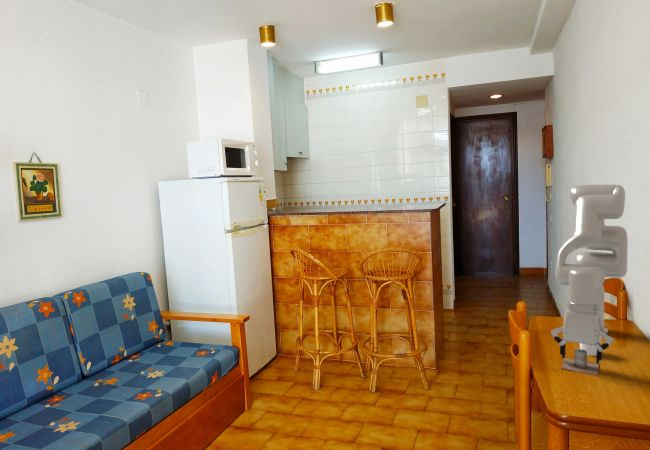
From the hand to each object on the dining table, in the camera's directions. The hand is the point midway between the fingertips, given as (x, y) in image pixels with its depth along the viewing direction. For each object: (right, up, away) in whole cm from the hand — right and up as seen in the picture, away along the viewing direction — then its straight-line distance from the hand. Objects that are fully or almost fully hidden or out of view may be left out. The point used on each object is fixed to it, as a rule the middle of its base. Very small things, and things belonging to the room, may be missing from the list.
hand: (580, 359), depth 147 cm
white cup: (+10, -1, +12) cm, 15 cm away
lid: (0, -3, 0) cm, 3 cm away
